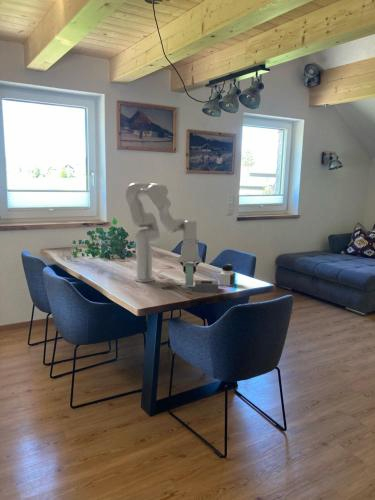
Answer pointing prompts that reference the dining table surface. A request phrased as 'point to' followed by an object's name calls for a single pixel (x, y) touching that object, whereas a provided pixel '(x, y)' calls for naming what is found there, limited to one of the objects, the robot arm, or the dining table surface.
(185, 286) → the pad
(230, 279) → the medicine bottle
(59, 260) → the dining table surface
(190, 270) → the plug
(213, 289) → the header
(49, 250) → the dining table surface
